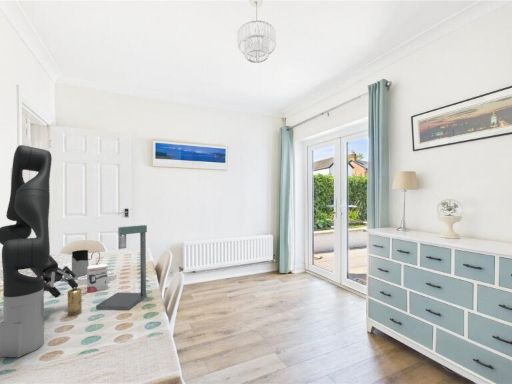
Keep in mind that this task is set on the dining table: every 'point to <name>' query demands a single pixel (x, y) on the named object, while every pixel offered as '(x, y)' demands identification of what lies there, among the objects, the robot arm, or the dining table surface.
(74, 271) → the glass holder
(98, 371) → the dining table surface
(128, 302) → the stand
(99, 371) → the dining table surface
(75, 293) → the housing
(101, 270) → the ink box
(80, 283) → the white brass knuckles
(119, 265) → the dining table surface
